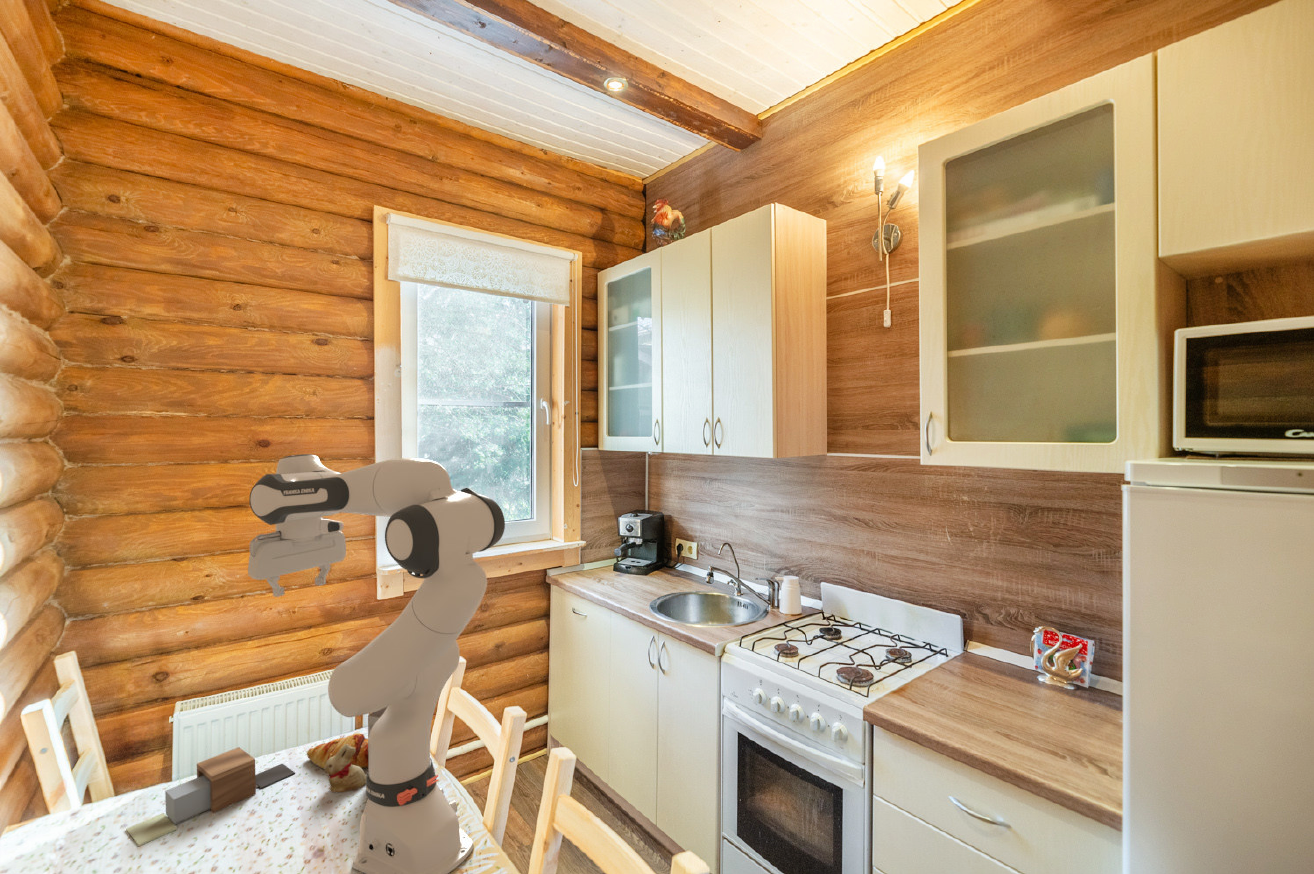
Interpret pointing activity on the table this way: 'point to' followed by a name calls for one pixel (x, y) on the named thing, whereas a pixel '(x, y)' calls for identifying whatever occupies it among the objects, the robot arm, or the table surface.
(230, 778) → the tunnel
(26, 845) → the table surface
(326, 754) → the croissant
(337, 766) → the chocolate bunny
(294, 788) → the table surface
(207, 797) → the block
